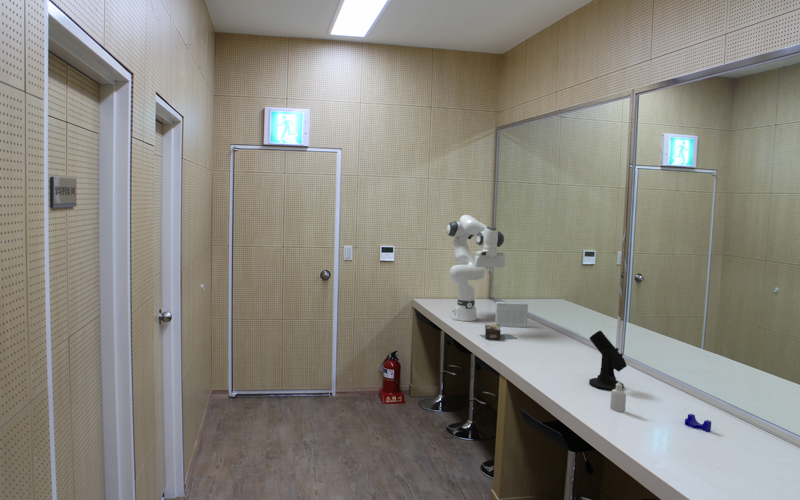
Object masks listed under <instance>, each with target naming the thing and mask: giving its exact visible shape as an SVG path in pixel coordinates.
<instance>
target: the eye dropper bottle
mask: <svg viewBox="0 0 800 500" xmlns="http://www.w3.org/2000/svg"><path fill="white" fill-rule="evenodd" d="M617 381H618V383H617V384H616V389H613V390H612V391H610V404H609V405H610V406H609V408H610V410H613V411H614V412H618V413H625V412H626V400H627V393H626V392H625V391H624V390H622V384H623V383H622V382H621V381H620V380H617ZM621 383H622V384H621Z"/></svg>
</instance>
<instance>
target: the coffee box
mask: <svg viewBox="0 0 800 500" xmlns="http://www.w3.org/2000/svg"><path fill="white" fill-rule="evenodd" d="M500 334H502V333H501V326H500V325H499V324H495V323H487V322H486V323H485V324H484V335H485V338H486V339H485V338H484V339H485V340H487V339H495V340H497V341H500V340H501V339H500Z"/></svg>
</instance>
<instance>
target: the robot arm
mask: <svg viewBox="0 0 800 500" xmlns="http://www.w3.org/2000/svg"><path fill="white" fill-rule="evenodd" d="M446 234H447V235H448V237H454V238H453V240H452V247H453V253H454V257H455V260H456V262H457V263H458V264H456V265H455V264H454V265H453V266H451V268H450V269H449V276H450V278H451V279H452V280H454V282H455V283H456V284H457V288H458V299H457V302H456V305H455V306H453V308H452V310H451V312H452V313H450V314H449V317H450V318H451V319H452V320H455V321H459V322H460V321H462V322H474V321H476V320H478V319H479V317H478V316H477V307H476V306H475V305H476V302H475V301H476V300H475V288H474V287H473V286H472V285H470V284H469V283H468V281H478V280H483V279H484V277H485V276H486V275H492V274H493V271H494V270H495V269H494V268H504V267H505V265H506V264H505V263H506V262H505V261H506V260H505V258H506V257H505V253H503V252H498V247H501V246H502V245H503V244H504V242H505V235H504V234H503V233H502V232H501V231H498V229H497V228H496V227H493V226H488V225H486V224H484V223H482V222H480V221H479V220H477V219H476V218H475V217H473V216H472V215H469V214H463V215H462V216H460V219H459V221H456V220H454V221H451V222H448V223H447V226H446ZM473 237H475V242H476V244H477V245H478V246H480V247H482V249H479V250H477V251H476V252H475V256H474V258H473V255H472V254H471V250H470V247H469V243H468V240H471V239H472V238H473ZM489 268H490V269H489Z"/></svg>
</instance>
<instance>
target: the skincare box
mask: <svg viewBox="0 0 800 500" xmlns="http://www.w3.org/2000/svg"><path fill="white" fill-rule="evenodd" d="M528 308H529V303H528V302H509V301H508V302H507V301H505V302H504V301H496V302H495V322H494V324H499V325H500V327H513V328H528V317H529V316H528V315H529V314H528Z"/></svg>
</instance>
